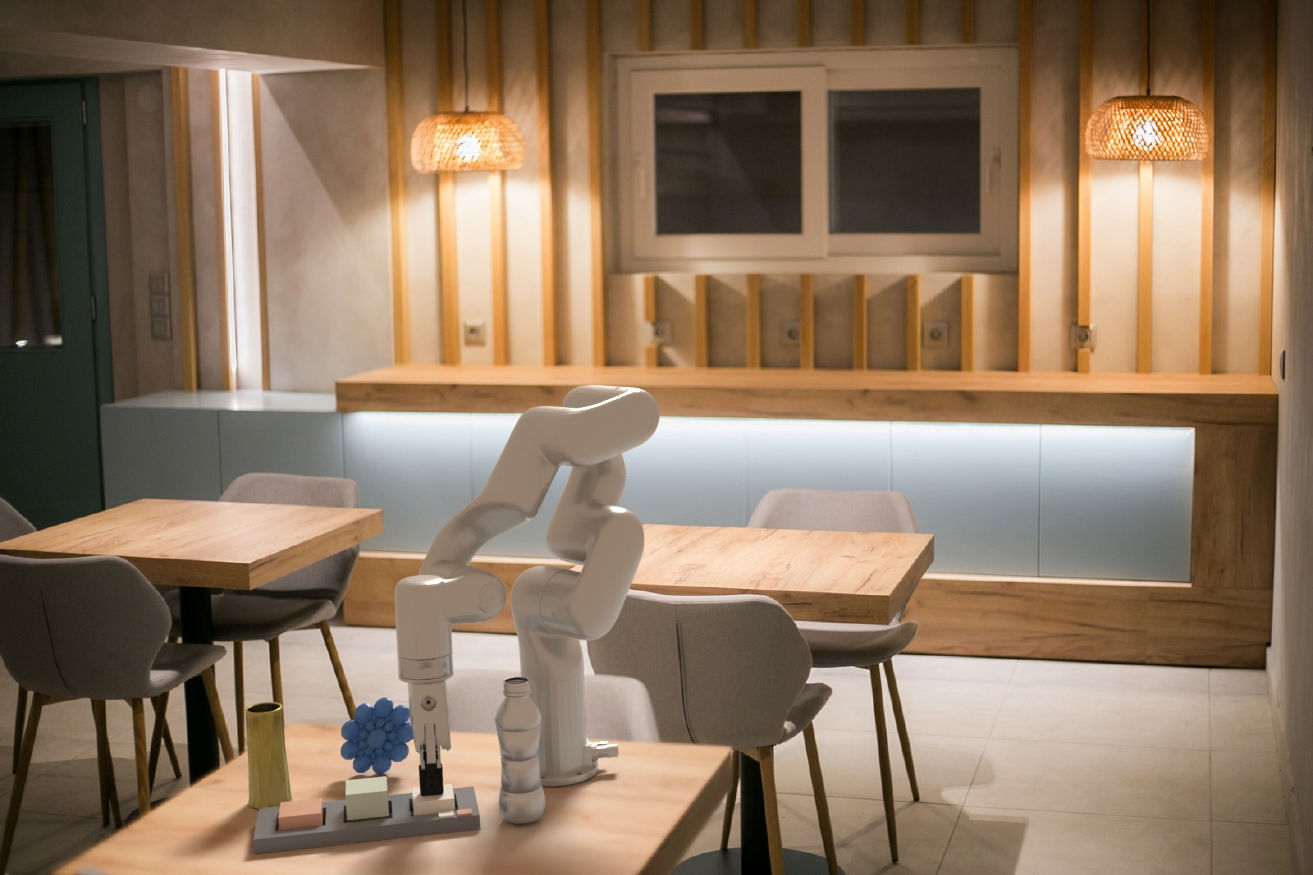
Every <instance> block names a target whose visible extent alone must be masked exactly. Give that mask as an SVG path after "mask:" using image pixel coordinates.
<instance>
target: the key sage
mask: <svg viewBox="0 0 1313 875" xmlns="http://www.w3.org/2000/svg"><path fill="white" fill-rule="evenodd" d="M388 795H389V794H388V778H387V776H377V777H369V778H368V777H367V778H366V777H365V778H357V779H346V780H345V800H346V810H347V819H346V820H347V821H353V820H354V821H355V820H361V819H371V818H381V817H389V816H390V814H389V810H388Z"/></svg>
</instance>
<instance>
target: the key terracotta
mask: <svg viewBox="0 0 1313 875" xmlns="http://www.w3.org/2000/svg"><path fill="white" fill-rule="evenodd" d="M322 802H323V798H322V797H319V798H311V799H310V798H309V799H308V798H307V799H300V800H291V801H288V802H281V803H280V810H279V817H278V819H279V828H278V830H288V829H297V828H306V827H316V826H324V822H325V821H323V807H322Z"/></svg>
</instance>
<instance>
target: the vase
mask: <svg viewBox="0 0 1313 875" xmlns="http://www.w3.org/2000/svg"><path fill="white" fill-rule="evenodd" d="M283 709H284V708H283V705H282V703H280V702H275V701H263V702H258V703H253V704H250V705H248V706H247V707H245V729H246V746H247V763H248V765H247V767H248V770H247V773H248V774H247V776H248V805H249V806H250V808H252V809H257V810H259V809H261V808H270V807H280V803H281V802H288V801H293V800H292V799H293V796H292V791H291V783H290V773H289V765H288V758H287V757H288V756H287V755H288V754H287V748H286V738H285V736H286V735H285V726H284V725H285V724H284V721H285V720H284V710H283Z"/></svg>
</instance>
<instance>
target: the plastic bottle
mask: <svg viewBox="0 0 1313 875" xmlns="http://www.w3.org/2000/svg"><path fill="white" fill-rule="evenodd" d="M530 693H531V689H530V681H529V679H528V678H526V677H521V676H511V677H506V678H505V679H504V680H503V690H502V694H503V696H504V699H503V700H502V701H501V703H500V705H499V706H498V708H497V710H496V712H495V717H494V725H495V729H496V733H497V734H496V735H497V739H498V744H499V754H500V763H501V768H500V772H501V775H500V787H499V788H500V789H499V795H498V807H499V812H500V815H501V817H502V818H503V820H505V821H506V822H508V823H511V824H515V825H516V824H517V825H518V824H519V825H523V824H531V823H533V822H534V823H535V822H537V821H538V820H540V819H541V818H542V816H543V814H544V813H545V809H546V802H547V801H546V795H545V790H544V786H542V782H541V774H540V766H539V738H540V727H541V715H540V712H539V709H538V707H537V706H536V704H535V703H534V702H533V701H532V699H531V698H530V697H529V694H530Z"/></svg>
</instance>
